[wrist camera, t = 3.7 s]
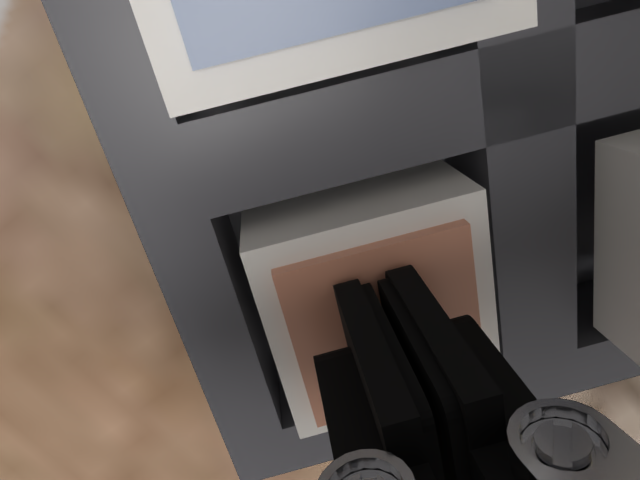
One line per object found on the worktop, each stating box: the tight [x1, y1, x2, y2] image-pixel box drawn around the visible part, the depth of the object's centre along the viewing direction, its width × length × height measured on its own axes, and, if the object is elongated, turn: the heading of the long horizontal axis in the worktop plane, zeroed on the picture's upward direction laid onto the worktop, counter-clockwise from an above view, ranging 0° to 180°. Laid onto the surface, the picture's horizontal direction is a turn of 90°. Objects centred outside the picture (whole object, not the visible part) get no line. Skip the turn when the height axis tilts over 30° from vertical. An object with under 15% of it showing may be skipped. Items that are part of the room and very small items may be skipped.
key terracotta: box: [239, 160, 500, 439], centre depth 12 cm, size 5×5×4 cm
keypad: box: [41, 0, 640, 480], centre depth 11 cm, size 17×17×3 cm
